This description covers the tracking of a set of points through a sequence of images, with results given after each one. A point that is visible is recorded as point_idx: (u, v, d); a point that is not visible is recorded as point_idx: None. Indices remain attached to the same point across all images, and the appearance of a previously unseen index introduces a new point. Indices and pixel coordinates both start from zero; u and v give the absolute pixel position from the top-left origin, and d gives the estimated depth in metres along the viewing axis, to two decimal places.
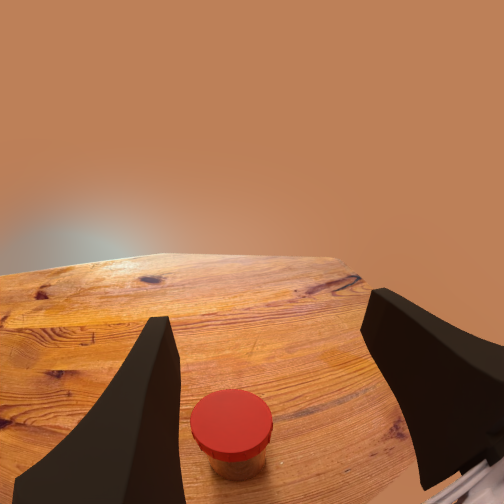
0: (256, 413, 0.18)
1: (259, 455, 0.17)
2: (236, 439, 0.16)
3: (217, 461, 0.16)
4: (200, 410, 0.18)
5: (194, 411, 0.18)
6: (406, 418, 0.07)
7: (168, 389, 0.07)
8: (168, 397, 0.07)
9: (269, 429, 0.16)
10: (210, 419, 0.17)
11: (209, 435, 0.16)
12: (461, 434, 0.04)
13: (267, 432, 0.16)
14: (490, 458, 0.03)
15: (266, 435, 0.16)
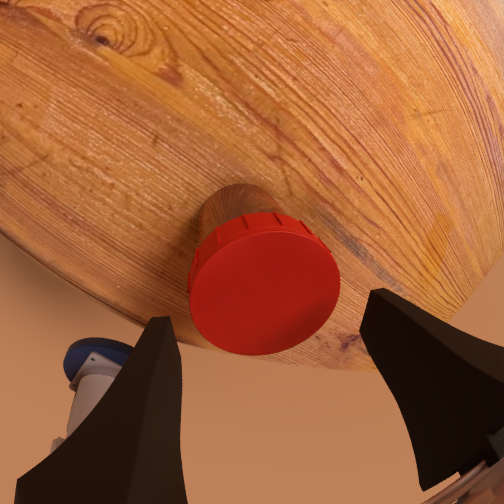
0: (303, 322, 0.11)
1: None
2: (238, 334, 0.11)
3: None
4: (246, 252, 0.09)
5: (236, 246, 0.09)
6: (405, 419, 0.07)
7: (170, 389, 0.07)
8: (170, 397, 0.07)
9: (284, 348, 0.12)
10: (241, 282, 0.10)
11: (212, 305, 0.10)
12: (460, 435, 0.04)
13: (278, 351, 0.12)
14: (490, 458, 0.03)
15: (272, 352, 0.12)
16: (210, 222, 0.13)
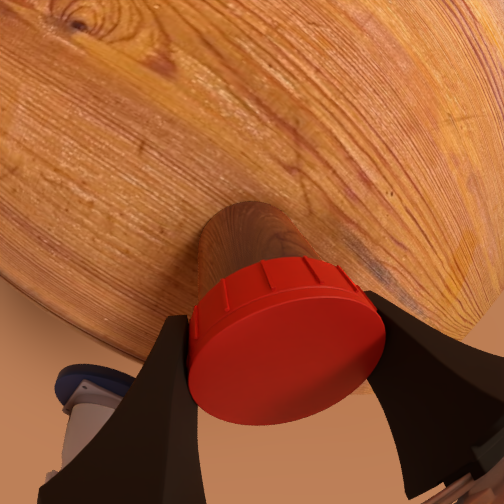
0: (333, 390, 0.08)
1: None
2: (252, 409, 0.08)
3: None
4: (269, 327, 0.06)
5: (254, 320, 0.06)
6: (390, 425, 0.07)
7: None
8: (189, 396, 0.07)
9: (307, 415, 0.09)
10: (260, 361, 0.07)
11: (219, 385, 0.07)
12: (444, 445, 0.04)
13: (299, 418, 0.09)
14: (490, 459, 0.03)
15: (292, 419, 0.09)
16: (212, 259, 0.10)
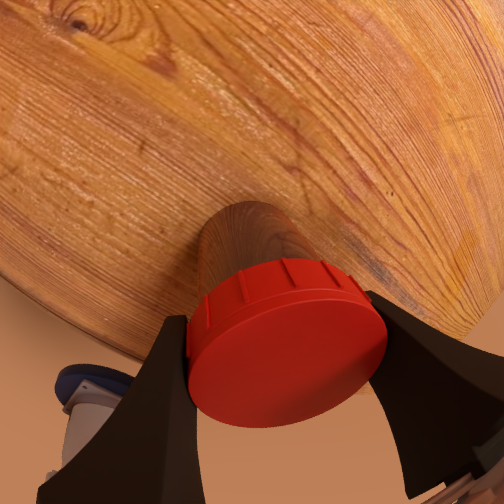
0: (351, 343, 0.07)
1: None
2: (325, 398, 0.08)
3: None
4: (212, 400, 0.07)
5: (202, 406, 0.07)
6: (391, 425, 0.07)
7: None
8: (188, 396, 0.07)
9: (383, 352, 0.07)
10: (251, 403, 0.07)
11: (271, 417, 0.08)
12: (445, 445, 0.04)
13: (380, 360, 0.08)
14: (490, 458, 0.03)
15: (378, 363, 0.08)
16: (210, 261, 0.10)
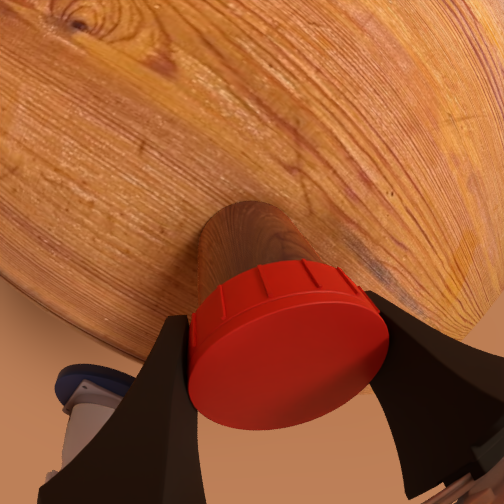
0: (262, 353, 0.06)
1: None
2: (355, 351, 0.07)
3: None
4: (287, 421, 0.08)
5: (292, 424, 0.08)
6: (390, 425, 0.07)
7: None
8: None
9: (316, 303, 0.06)
10: (308, 404, 0.08)
11: (348, 387, 0.08)
12: (444, 445, 0.04)
13: (330, 305, 0.06)
14: (490, 458, 0.03)
15: (338, 302, 0.06)
16: (209, 263, 0.10)
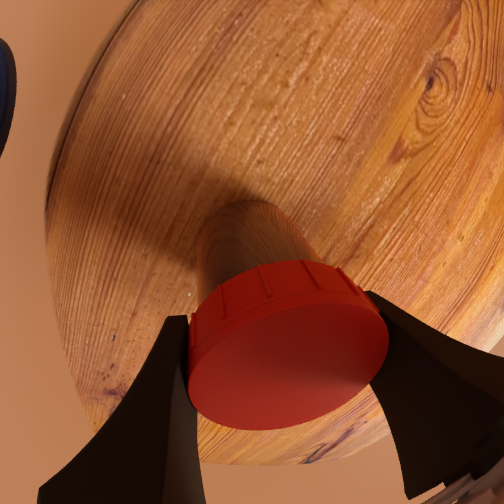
0: (262, 353, 0.06)
1: None
2: (355, 351, 0.07)
3: (234, 251, 0.09)
4: (287, 421, 0.08)
5: (292, 424, 0.08)
6: (390, 425, 0.07)
7: None
8: (188, 396, 0.07)
9: (316, 303, 0.06)
10: (307, 404, 0.08)
11: (348, 387, 0.08)
12: (444, 445, 0.04)
13: (330, 305, 0.06)
14: (490, 459, 0.03)
15: (338, 302, 0.06)
16: (294, 237, 0.10)
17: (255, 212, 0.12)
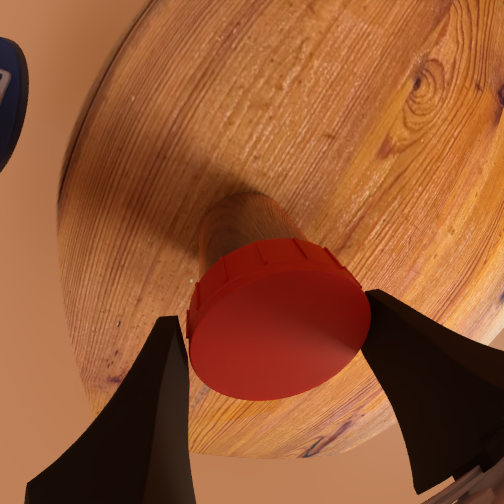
0: (257, 314, 0.07)
1: None
2: (339, 321, 0.08)
3: (232, 234, 0.10)
4: (277, 392, 0.09)
5: (282, 396, 0.09)
6: (399, 421, 0.07)
7: (178, 388, 0.07)
8: (178, 396, 0.07)
9: (304, 270, 0.07)
10: (297, 373, 0.09)
11: (334, 359, 0.09)
12: (454, 439, 0.04)
13: (316, 272, 0.07)
14: (491, 458, 0.03)
15: (323, 271, 0.07)
16: (286, 222, 0.11)
17: (252, 202, 0.13)
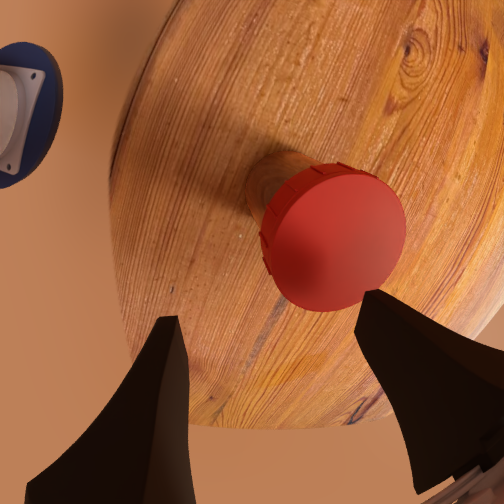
0: (324, 213, 0.09)
1: None
2: (383, 222, 0.10)
3: (285, 172, 0.12)
4: (341, 300, 0.11)
5: (344, 305, 0.11)
6: (399, 421, 0.07)
7: (178, 389, 0.07)
8: (178, 397, 0.07)
9: (353, 175, 0.09)
10: (356, 277, 0.11)
11: (383, 262, 0.11)
12: (454, 439, 0.04)
13: (361, 176, 0.09)
14: (490, 458, 0.03)
15: (366, 176, 0.09)
16: (323, 163, 0.13)
17: (290, 154, 0.15)
